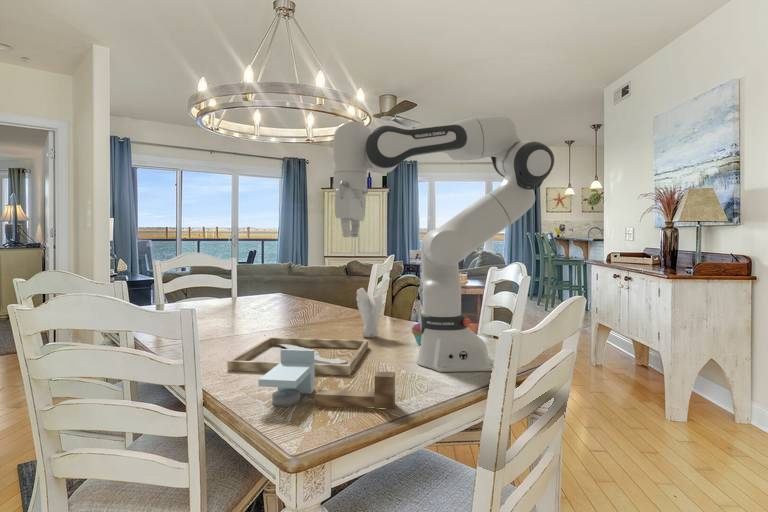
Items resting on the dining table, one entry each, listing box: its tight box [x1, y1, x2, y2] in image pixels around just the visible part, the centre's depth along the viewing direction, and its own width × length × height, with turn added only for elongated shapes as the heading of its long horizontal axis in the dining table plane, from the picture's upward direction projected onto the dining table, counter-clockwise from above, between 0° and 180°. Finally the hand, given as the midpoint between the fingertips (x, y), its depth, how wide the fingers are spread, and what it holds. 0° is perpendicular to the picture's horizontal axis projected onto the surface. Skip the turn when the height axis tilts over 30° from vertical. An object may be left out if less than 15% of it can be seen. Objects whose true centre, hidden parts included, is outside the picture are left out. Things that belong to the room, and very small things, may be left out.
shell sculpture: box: [355, 287, 384, 338], centre depth 164 cm, size 8×8×18 cm
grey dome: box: [271, 389, 301, 408], centre depth 99 cm, size 6×6×2 cm
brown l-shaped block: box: [314, 371, 396, 410], centre depth 97 cm, size 17×4×7 cm, turn 83°
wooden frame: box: [226, 336, 369, 376], centre depth 135 cm, size 34×30×2 cm
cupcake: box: [411, 307, 422, 345], centre depth 154 cm, size 9×8×12 cm
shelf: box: [258, 348, 316, 395], centre depth 100 cm, size 8×14×10 cm, turn 173°
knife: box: [278, 344, 349, 365], centre depth 136 cm, size 37×8×2 cm, turn 36°
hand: (350, 237), depth 119 cm, fingers open, 8 cm apart
